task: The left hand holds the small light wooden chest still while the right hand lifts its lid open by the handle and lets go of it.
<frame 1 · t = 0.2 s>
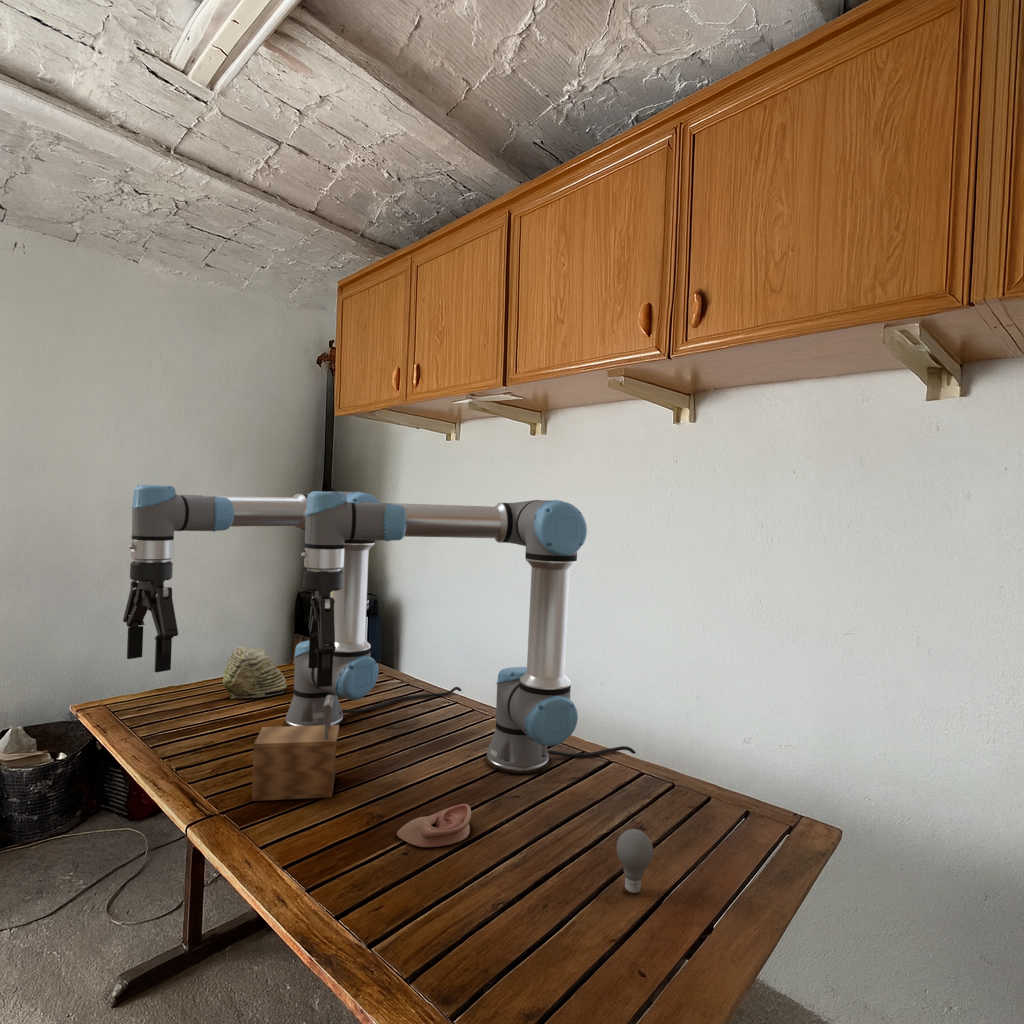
left hand: (148, 664, 129), 28 cm above the table, tool pointing down, fingers open, 13 cm apart
right hand: (319, 676, 125), 28 cm above the table, tool pointing down, fingers open, 13 cm apart
lid: (299, 719, 137), point 15 cm above the table, hinge at 0.0°
light bulb: (632, 891, 106), on the table
chest: (295, 788, 137), on the table
anatomical model: (434, 833, 121), on the table
fossil: (254, 694, 198), on the table
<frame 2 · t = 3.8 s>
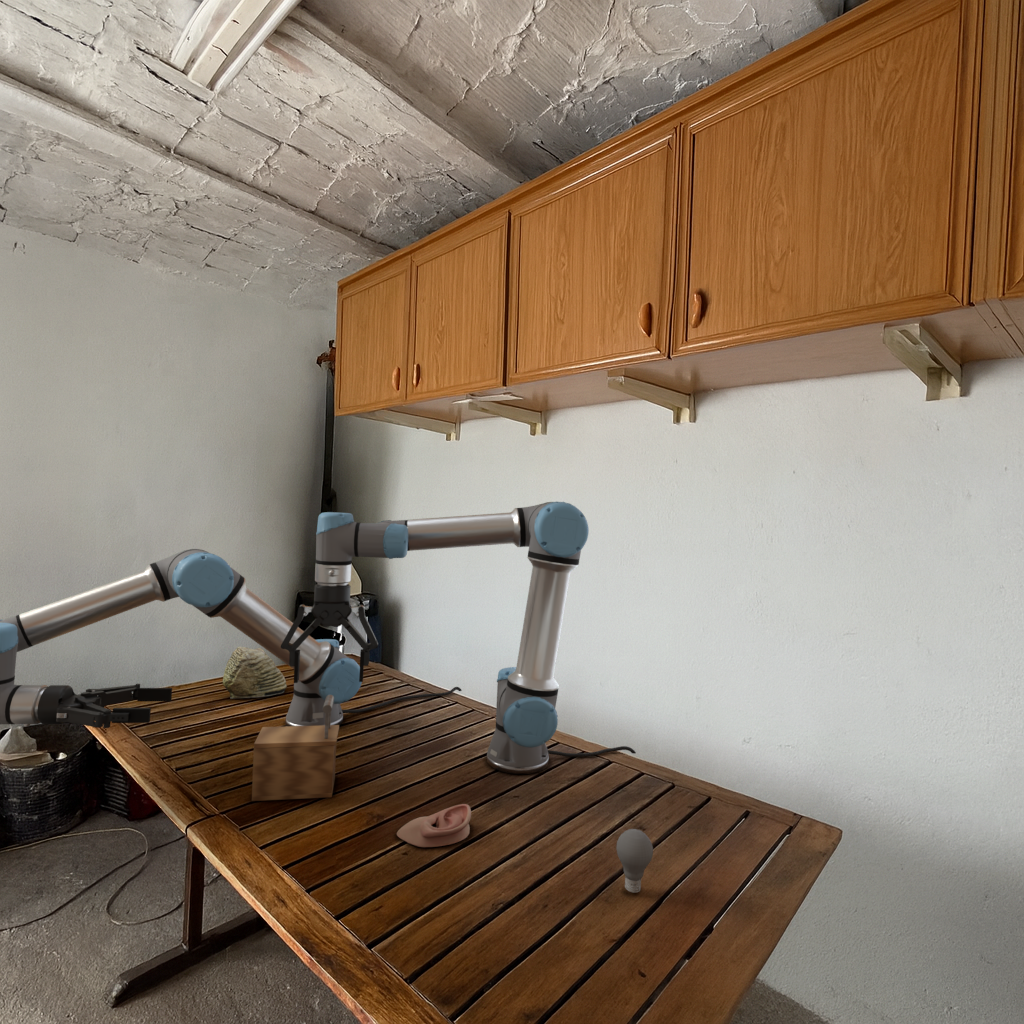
left hand: (161, 704, 131), 19 cm above the table, tool horizontal, fingers open, 13 cm apart
right hand: (329, 680, 138), 23 cm above the table, tool pointing down, fingers open, 13 cm apart
nothing on the table moved.
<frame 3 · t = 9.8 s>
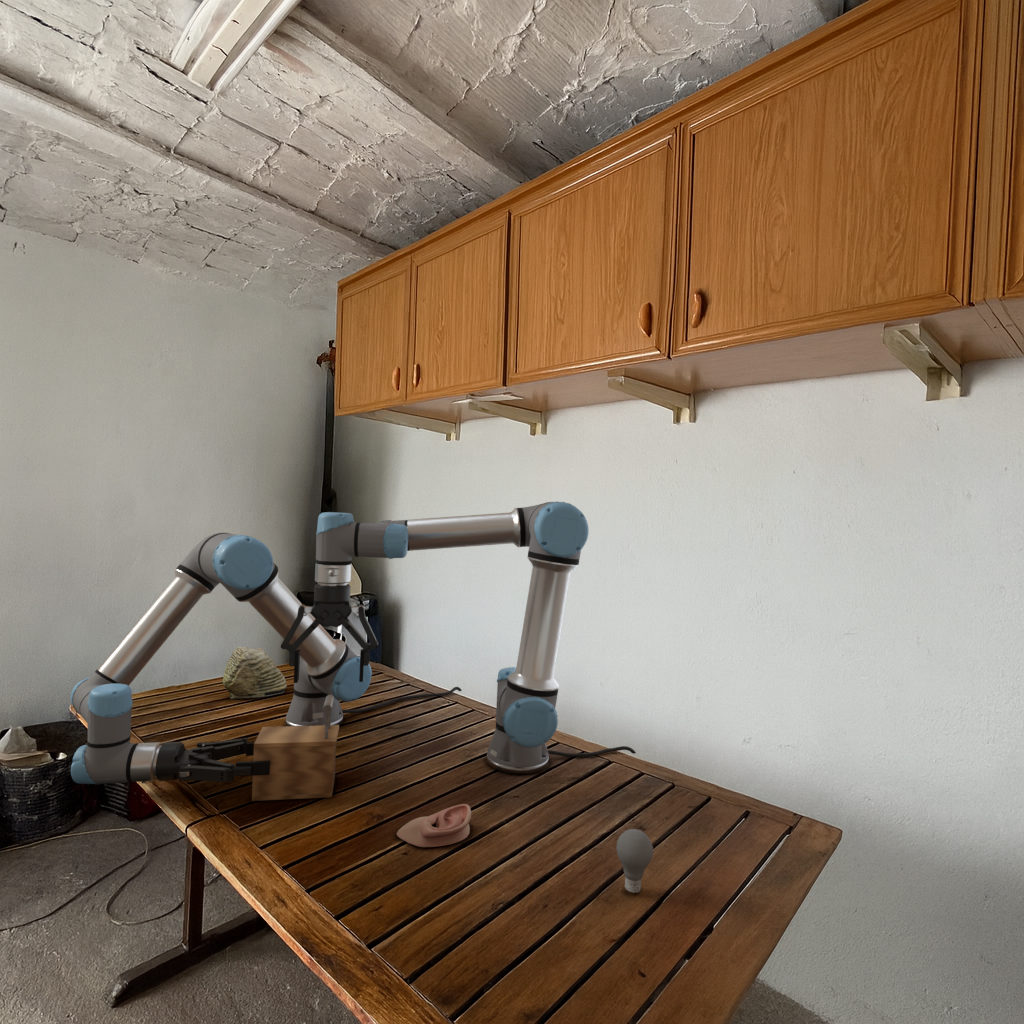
left hand: (273, 757, 136), 7 cm above the table, tool horizontal, fingers closed on chest, 10 cm apart
right hand: (329, 680, 138), 23 cm above the table, tool pointing down, fingers open, 13 cm apart
chest: (295, 788, 137), on the table, touching left hand
everything else where it was.
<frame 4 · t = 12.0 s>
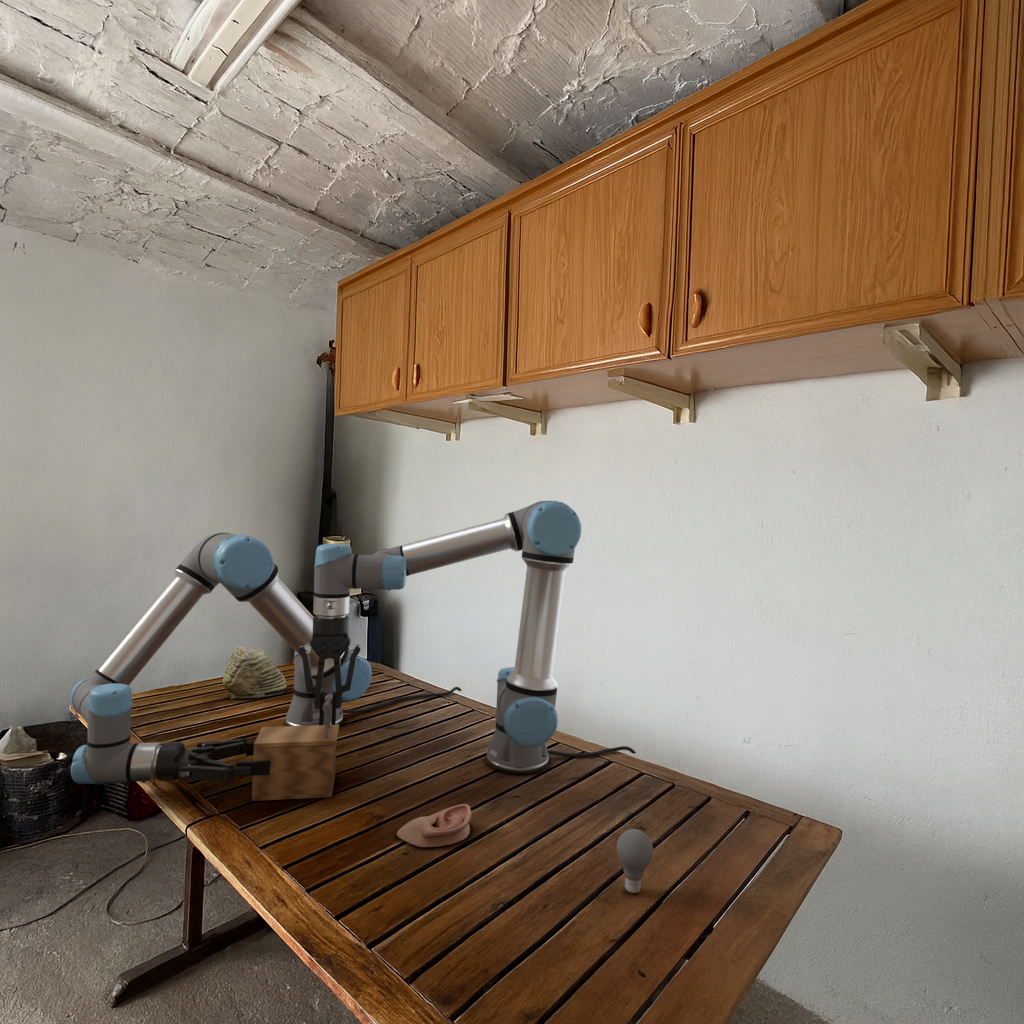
left hand: (273, 757, 136), 7 cm above the table, tool horizontal, fingers closed on chest, 10 cm apart
right hand: (327, 722, 138), 14 cm above the table, tool pointing down, fingers closed on lid, 2 cm apart
lid: (298, 718, 137), point 15 cm above the table, hinge at 0.4°, touching right hand
chest: (295, 788, 137), on the table, touching left hand
everything else where it was.
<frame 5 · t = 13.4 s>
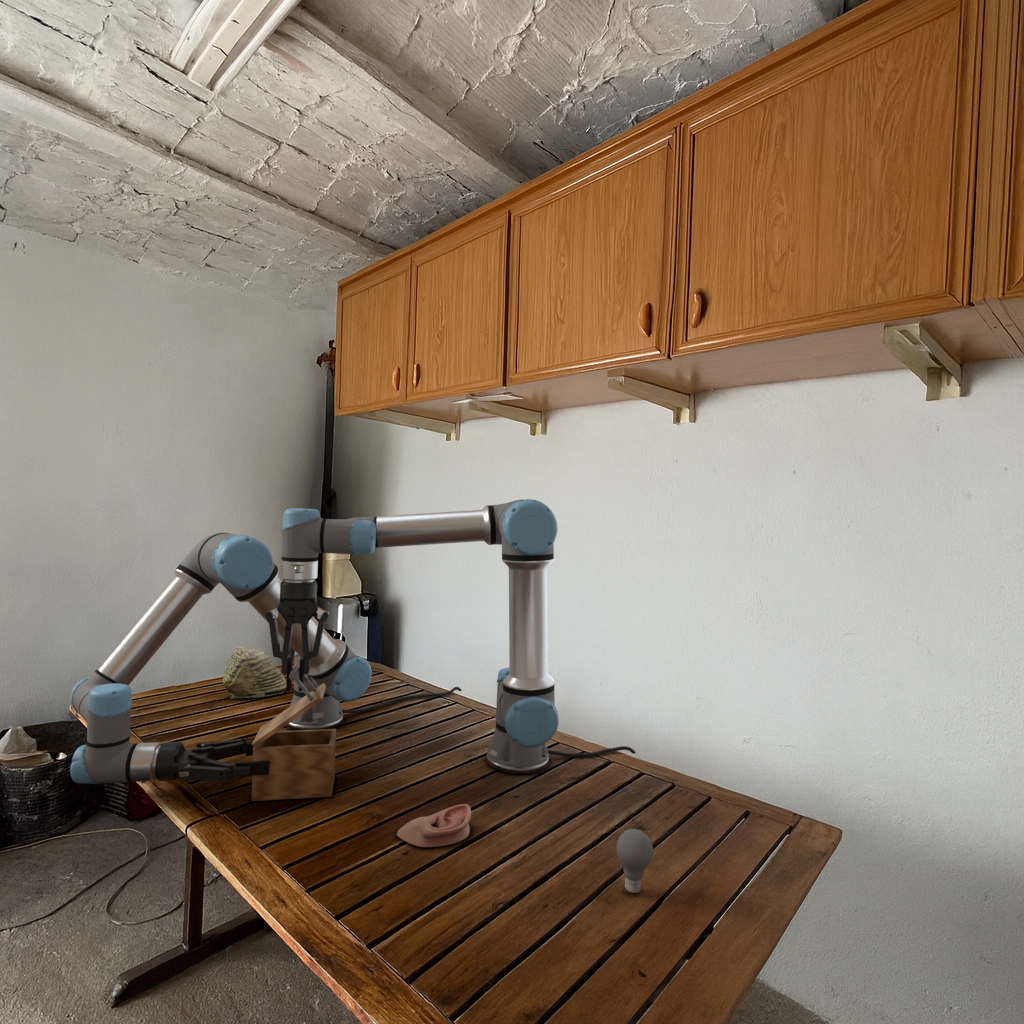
left hand: (273, 757, 136), 7 cm above the table, tool horizontal, fingers closed on chest, 10 cm apart
right hand: (295, 688, 136), 22 cm above the table, tool pointing down, fingers closed on lid, 2 cm apart
lid: (280, 700, 136), point 19 cm above the table, hinge at 36.2°, touching right hand
chest: (295, 788, 137), on the table, touching left hand
everything else where it was.
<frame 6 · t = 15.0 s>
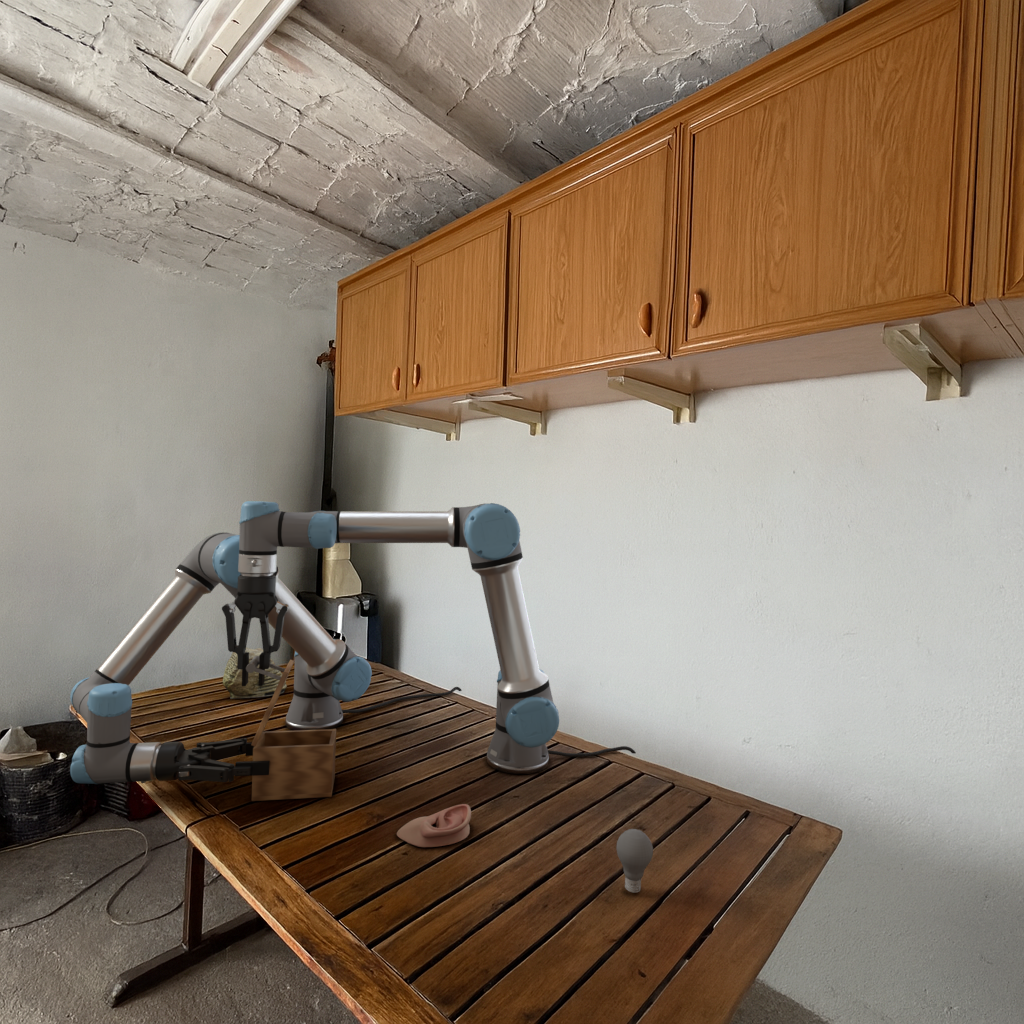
left hand: (273, 757, 136), 7 cm above the table, tool horizontal, fingers closed on chest, 10 cm apart
right hand: (253, 684, 135), 23 cm above the table, tool pointing down, fingers open, 3 cm apart
lid: (256, 695, 135), point 20 cm above the table, hinge at 68.5°
chest: (295, 788, 137), on the table, touching left hand
everything else where it was.
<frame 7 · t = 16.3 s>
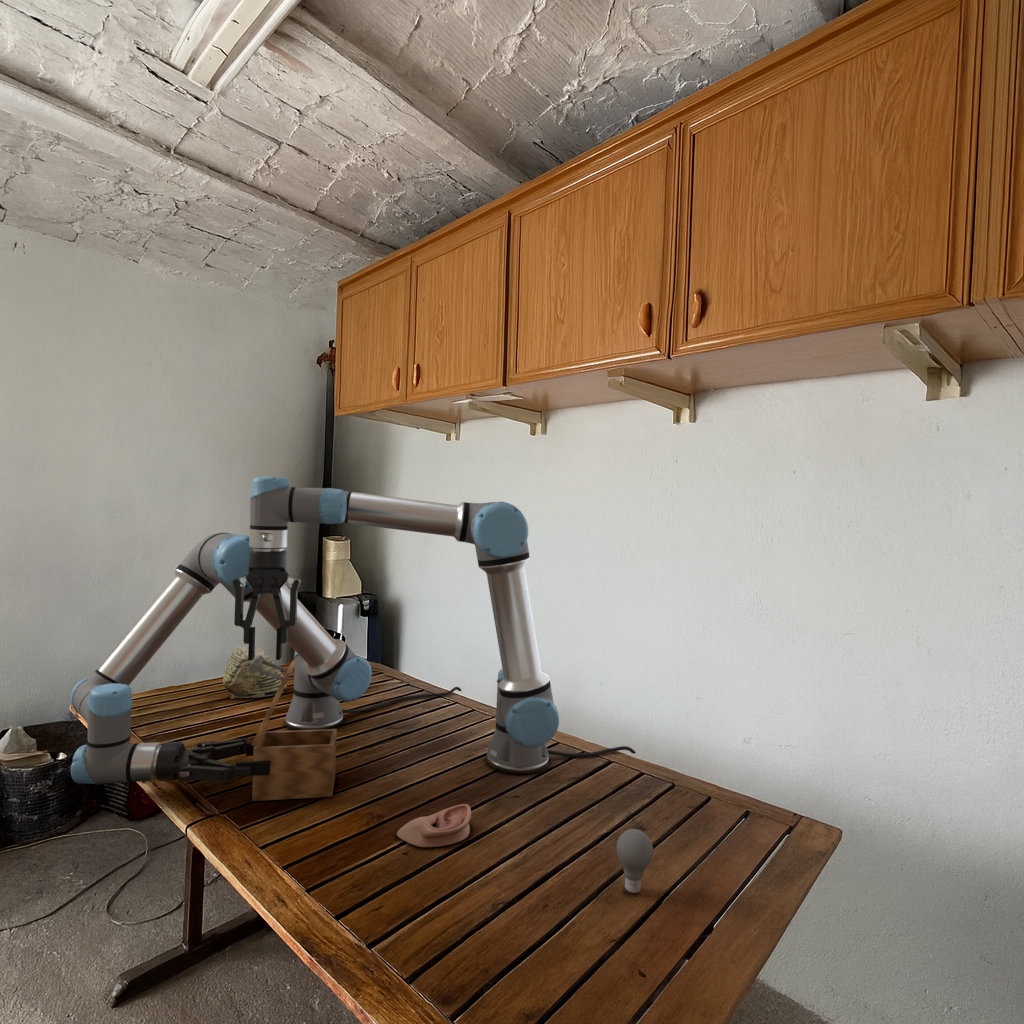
left hand: (273, 757, 136), 7 cm above the table, tool horizontal, fingers closed on chest, 10 cm apart
right hand: (265, 658, 135), 28 cm above the table, tool pointing down, fingers open, 5 cm apart
lid: (258, 695, 135), point 20 cm above the table, hinge at 66.9°
chest: (295, 788, 137), on the table, touching left hand
everything else where it was.
when the left hand's fingers open (7 cm above the table, at t = 19.1 s): chest stays where it is, on the table.
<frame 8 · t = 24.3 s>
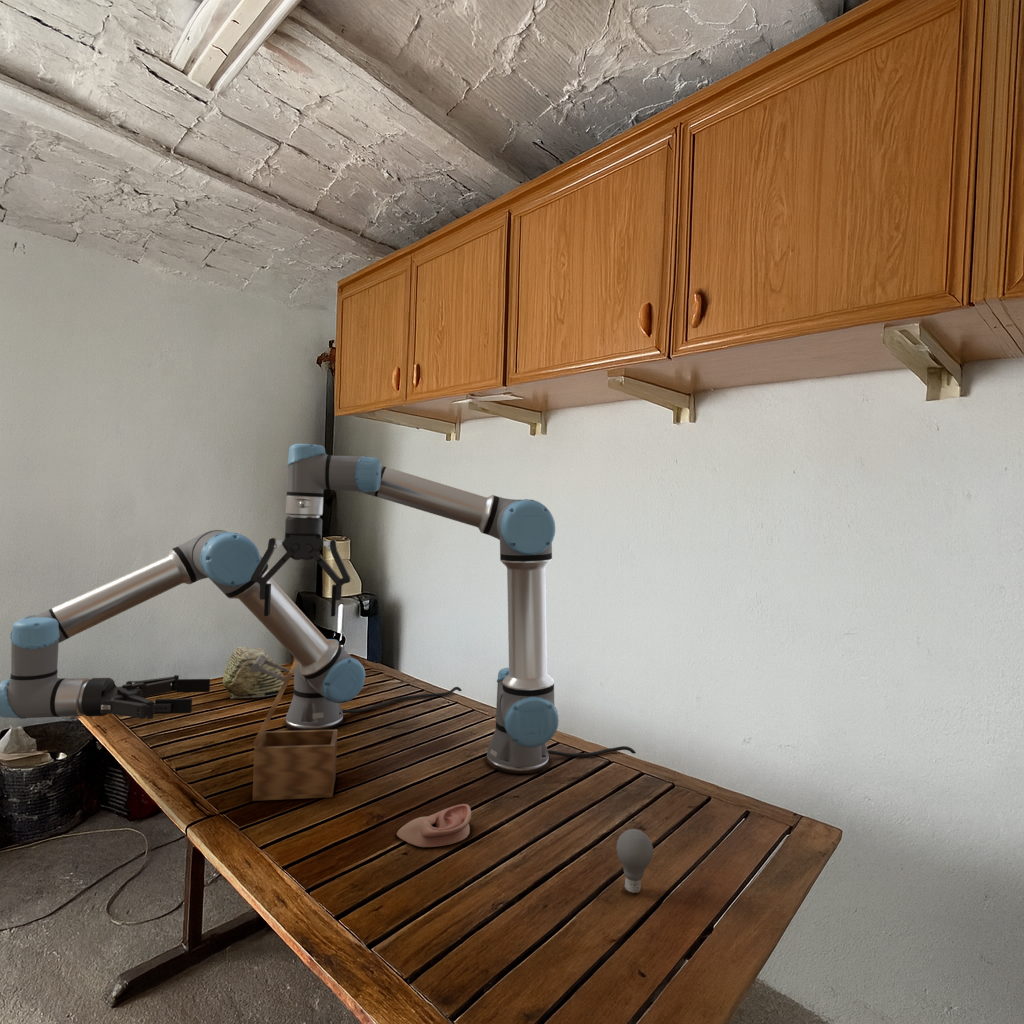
left hand: (201, 695, 133), 21 cm above the table, tool horizontal, fingers open, 13 cm apart
right hand: (300, 615, 136), 38 cm above the table, tool pointing down, fingers open, 13 cm apart
lid: (260, 695, 135), point 20 cm above the table, hinge at 66.3°
chest: (295, 788, 137), on the table
everything else where it was.
at the end: lid at +66° (first picture: +0°); the left hand is holding nothing; the right hand is holding nothing; chest tilted 0°; chest never tilted more than 1° during the clip; chest moved 0.1 cm from its start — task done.
